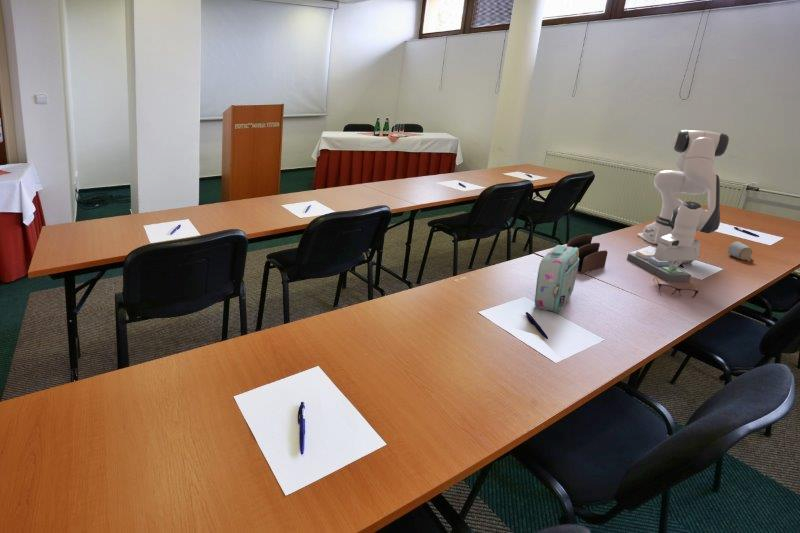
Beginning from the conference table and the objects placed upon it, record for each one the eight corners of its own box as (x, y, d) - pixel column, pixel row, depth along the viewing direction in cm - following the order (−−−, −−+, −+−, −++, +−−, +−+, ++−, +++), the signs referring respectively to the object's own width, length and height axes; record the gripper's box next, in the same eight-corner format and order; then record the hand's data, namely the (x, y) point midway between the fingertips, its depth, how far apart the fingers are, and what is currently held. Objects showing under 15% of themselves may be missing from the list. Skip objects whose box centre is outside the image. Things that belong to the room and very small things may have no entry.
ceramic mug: (738, 260, 235) (743, 246, 233) (725, 254, 243) (730, 241, 240) (756, 261, 237) (761, 247, 234) (743, 255, 245) (748, 241, 242)
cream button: (635, 256, 224) (636, 250, 223) (645, 256, 225) (647, 250, 224) (643, 261, 218) (645, 255, 217) (654, 260, 220) (656, 255, 219)
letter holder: (561, 267, 209) (567, 237, 204) (585, 260, 221) (591, 231, 216) (581, 275, 202) (588, 244, 197) (605, 266, 214) (612, 237, 209)
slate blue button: (647, 263, 216) (649, 257, 215) (658, 262, 217) (660, 256, 216) (656, 267, 211) (658, 261, 210) (668, 267, 212) (669, 261, 211)
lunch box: (558, 320, 160) (571, 262, 152) (529, 312, 164) (539, 255, 156) (573, 294, 181) (585, 242, 174) (547, 287, 186) (557, 236, 178)
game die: (683, 270, 228) (696, 253, 227) (692, 270, 219) (706, 253, 219) (668, 259, 228) (681, 242, 228) (677, 258, 220) (690, 241, 219)
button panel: (626, 258, 226) (628, 253, 225) (645, 258, 229) (647, 252, 227) (669, 281, 201) (671, 275, 200) (689, 281, 203) (691, 274, 202)
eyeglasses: (656, 293, 190) (659, 284, 188) (652, 280, 202) (655, 272, 201) (696, 300, 185) (699, 291, 184) (689, 287, 198) (692, 278, 196)
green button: (660, 273, 209) (661, 267, 208) (671, 272, 210) (673, 266, 209) (669, 278, 203) (671, 272, 202) (681, 278, 205) (683, 271, 204)
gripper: (695, 237, 206) (686, 266, 211) (656, 237, 201) (648, 267, 206) (707, 241, 200) (697, 271, 205) (667, 242, 196) (658, 272, 201)
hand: (672, 269), depth 206 cm, fingers closed, pressing on green button
